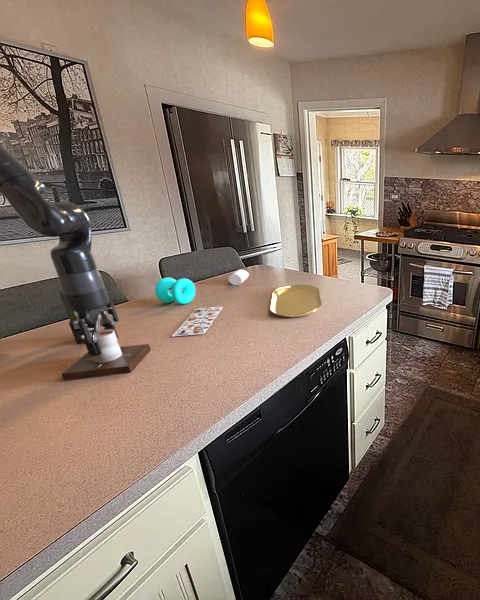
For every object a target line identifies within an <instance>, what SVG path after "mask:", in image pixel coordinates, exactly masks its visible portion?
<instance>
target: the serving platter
mask: <svg viewBox="0 0 480 600" xmlns="http://www.w3.org/2000/svg"><path fill="white" fill-rule="evenodd" d="M322 305H323V302H322V297H321V293H320V289H319V288H318V286H316V285H311V284H291V285H285V286H282V287H279V288H277V289H275V290H274V291H273V292H272V295H271V302H270V308H269V311H271V312H272V314H273V315H275V316H277V317H283V318H299V317H304V316H309V315H311V314H314V313H316V312H317V311H319V310H320V309H321V307H322Z"/></svg>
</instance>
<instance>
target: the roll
mask: <svg viewBox="0 0 480 600" xmlns="http://www.w3.org/2000/svg"><path fill="white" fill-rule="evenodd" d="M249 276H250V273H249V272H248V271H247V270H244V269H237V270H236V271H234V272H233V273H231V274H230V275H229V276H228V282H229V283H230V284H231V285H233V286H239V285H241V284H242V283H244V282H245V281H246V280H247V279H248V278H249Z"/></svg>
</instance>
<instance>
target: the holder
mask: <svg viewBox="0 0 480 600" xmlns="http://www.w3.org/2000/svg"><path fill="white" fill-rule="evenodd" d="M120 349H121V352H122V355H121V356H120V357H119V358H117V359H115V360H113V361H109V362H105V363H96V362H95V361H94V358H93V356H91V355H90V354H89V351H87V352H86V353H84V355H82V356H81V357H80V358H79V359H77V360H76V361H75V362H73V364H72V365H70V366H69V367H68V368H66V369H65V370H64V371H63V372H61V377H62V379H63V381H73V380H74V381H75V380H81V379H90V378H98V377H99V378H100V377H106V376H114V375H122V374H123V375H124V374H130V373H131V374H132V372H133V371H135V369H136V368H137V367H138V366H139V364H140V363H141V362H142V360H143V359H145V357H146V356H147V355H148V354H149V353H150V351H151V346H150V343H145V344H135V345H126V346H125V345H124V346H120Z"/></svg>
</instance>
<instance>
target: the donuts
mask: <svg viewBox="0 0 480 600" xmlns="http://www.w3.org/2000/svg"><path fill="white" fill-rule="evenodd" d="M169 289H170V291H169ZM154 290H155V291H154V292H155V296H156V298H157V299H158V300H159V301H160V302H161V303H166V304H170V303H173V302H176V303H178V304H180V305H186V304H189V303H190V302H192V301H193V299H194V298H195V296H196V287H195V284H194V282H193V281H192V280H191V279H188V278H185V277H184V278H178V279H177V280H176V279H174V278H172V277H167V276H166V277H163V278H161V279H159V280H158V282H157V283H156V285H155V289H154Z"/></svg>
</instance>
